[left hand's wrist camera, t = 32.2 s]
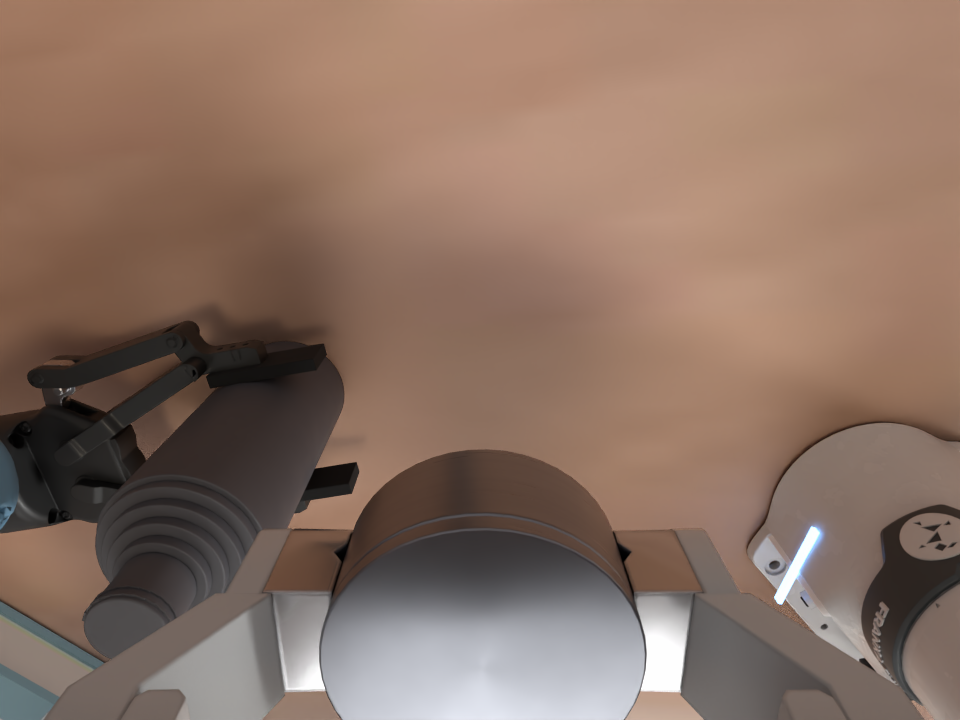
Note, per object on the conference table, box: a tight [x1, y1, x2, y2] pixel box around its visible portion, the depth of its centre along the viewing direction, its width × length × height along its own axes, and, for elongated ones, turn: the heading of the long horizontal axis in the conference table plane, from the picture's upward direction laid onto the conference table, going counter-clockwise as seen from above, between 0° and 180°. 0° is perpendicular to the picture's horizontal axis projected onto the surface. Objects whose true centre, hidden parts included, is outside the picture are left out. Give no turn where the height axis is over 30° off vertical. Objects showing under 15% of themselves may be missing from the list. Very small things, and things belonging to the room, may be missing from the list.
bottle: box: [82, 341, 344, 659], centre depth 36 cm, size 8×8×24 cm
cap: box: [319, 449, 647, 720], centre depth 9 cm, size 4×4×2 cm
